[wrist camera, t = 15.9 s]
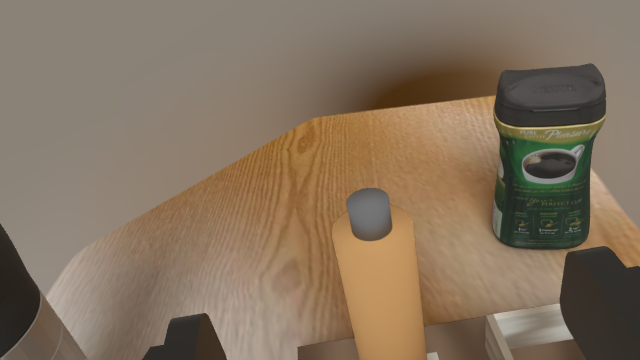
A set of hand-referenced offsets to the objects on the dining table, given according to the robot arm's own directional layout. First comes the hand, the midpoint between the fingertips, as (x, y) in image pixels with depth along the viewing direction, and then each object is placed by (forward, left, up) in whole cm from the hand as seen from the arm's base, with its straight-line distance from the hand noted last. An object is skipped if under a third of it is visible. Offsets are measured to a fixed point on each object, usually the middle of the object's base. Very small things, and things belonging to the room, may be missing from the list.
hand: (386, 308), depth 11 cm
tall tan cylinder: (-13, +7, -28) cm, 32 cm away
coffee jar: (-22, +32, -30) cm, 49 cm away
